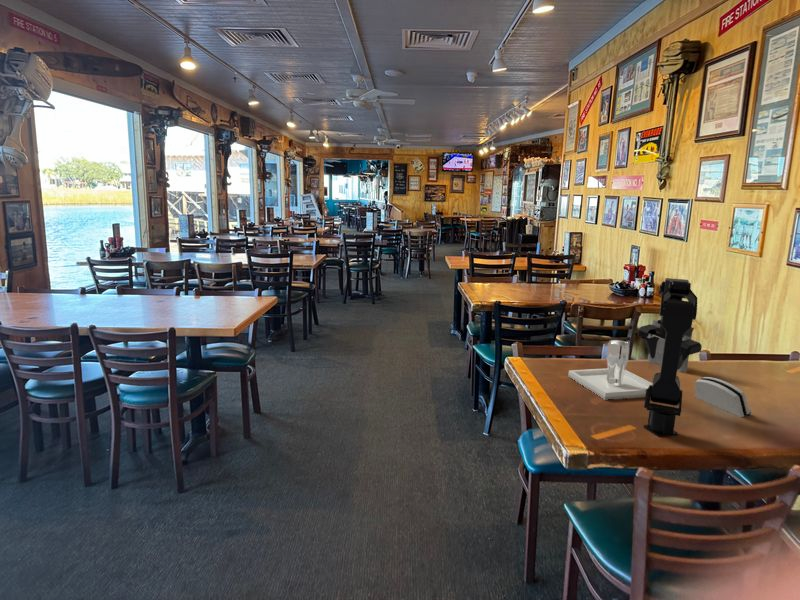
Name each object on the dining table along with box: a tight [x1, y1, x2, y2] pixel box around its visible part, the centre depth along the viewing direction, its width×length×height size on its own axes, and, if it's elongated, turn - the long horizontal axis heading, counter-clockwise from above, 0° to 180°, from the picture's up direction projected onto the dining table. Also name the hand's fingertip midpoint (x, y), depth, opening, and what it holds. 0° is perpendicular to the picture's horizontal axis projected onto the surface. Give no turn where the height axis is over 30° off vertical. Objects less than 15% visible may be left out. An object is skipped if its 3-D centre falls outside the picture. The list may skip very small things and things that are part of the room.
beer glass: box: [605, 339, 630, 387], centre depth 177 cm, size 7×7×15 cm
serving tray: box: [567, 367, 652, 401], centre depth 179 cm, size 22×22×2 cm
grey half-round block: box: [694, 376, 753, 418], centre depth 162 cm, size 17×5×10 cm, turn 19°
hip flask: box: [647, 318, 693, 374], centre depth 200 cm, size 16×4×20 cm, turn 29°
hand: (665, 363), depth 162 cm, fingers open, 9 cm apart
